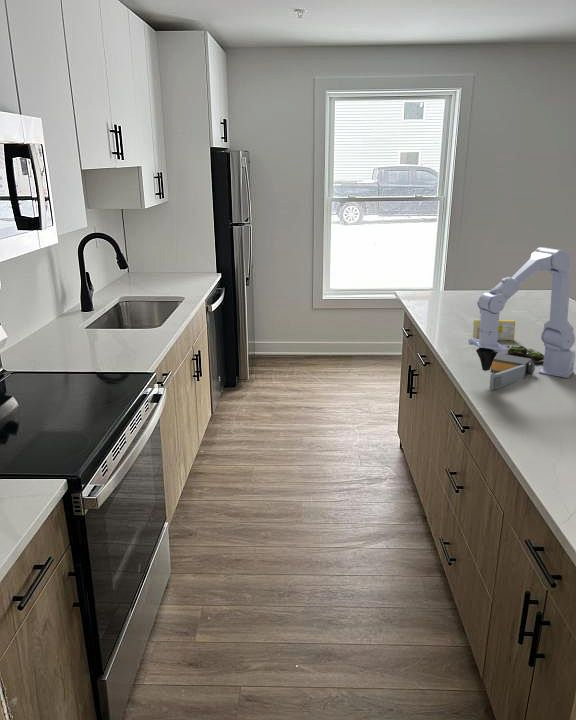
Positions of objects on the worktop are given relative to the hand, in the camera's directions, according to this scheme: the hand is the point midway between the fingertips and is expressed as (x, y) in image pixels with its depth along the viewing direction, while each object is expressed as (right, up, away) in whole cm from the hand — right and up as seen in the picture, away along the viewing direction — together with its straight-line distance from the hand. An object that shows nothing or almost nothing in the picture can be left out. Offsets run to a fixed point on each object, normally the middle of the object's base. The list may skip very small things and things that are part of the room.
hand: (486, 369), depth 194 cm
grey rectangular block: (+13, -1, +12) cm, 17 cm away
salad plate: (+22, +3, +26) cm, 34 cm away
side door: (+8, -5, +1) cm, 9 cm away
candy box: (+20, +12, +50) cm, 55 cm away
